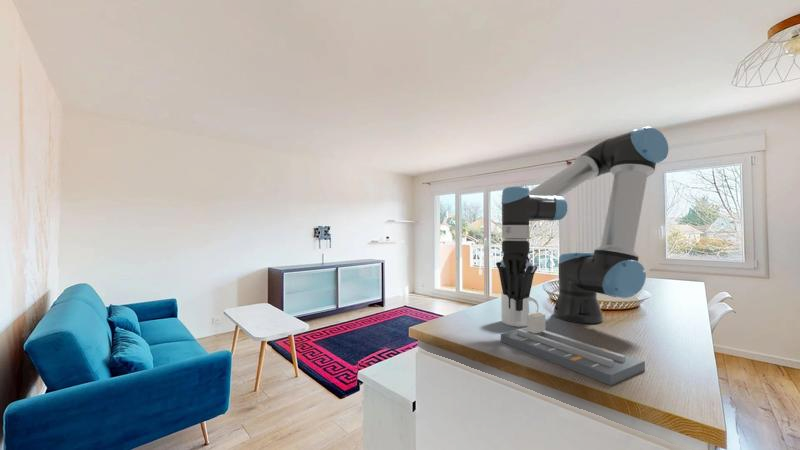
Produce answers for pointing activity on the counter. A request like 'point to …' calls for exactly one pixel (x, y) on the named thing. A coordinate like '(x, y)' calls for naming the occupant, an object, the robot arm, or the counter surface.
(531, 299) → the mug
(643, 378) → the counter surface
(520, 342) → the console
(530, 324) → the fader
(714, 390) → the counter surface
